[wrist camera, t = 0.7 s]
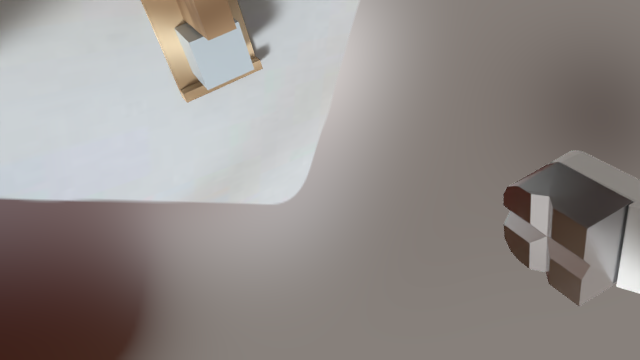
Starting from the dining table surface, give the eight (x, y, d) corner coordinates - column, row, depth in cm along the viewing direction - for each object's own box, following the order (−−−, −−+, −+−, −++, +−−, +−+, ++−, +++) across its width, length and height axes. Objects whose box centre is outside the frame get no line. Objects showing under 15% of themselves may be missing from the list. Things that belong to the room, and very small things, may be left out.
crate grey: (174, 28, 43) (189, 42, 40) (220, 8, 44) (238, 21, 41) (192, 72, 46) (207, 90, 43) (236, 53, 47) (254, 69, 44)
